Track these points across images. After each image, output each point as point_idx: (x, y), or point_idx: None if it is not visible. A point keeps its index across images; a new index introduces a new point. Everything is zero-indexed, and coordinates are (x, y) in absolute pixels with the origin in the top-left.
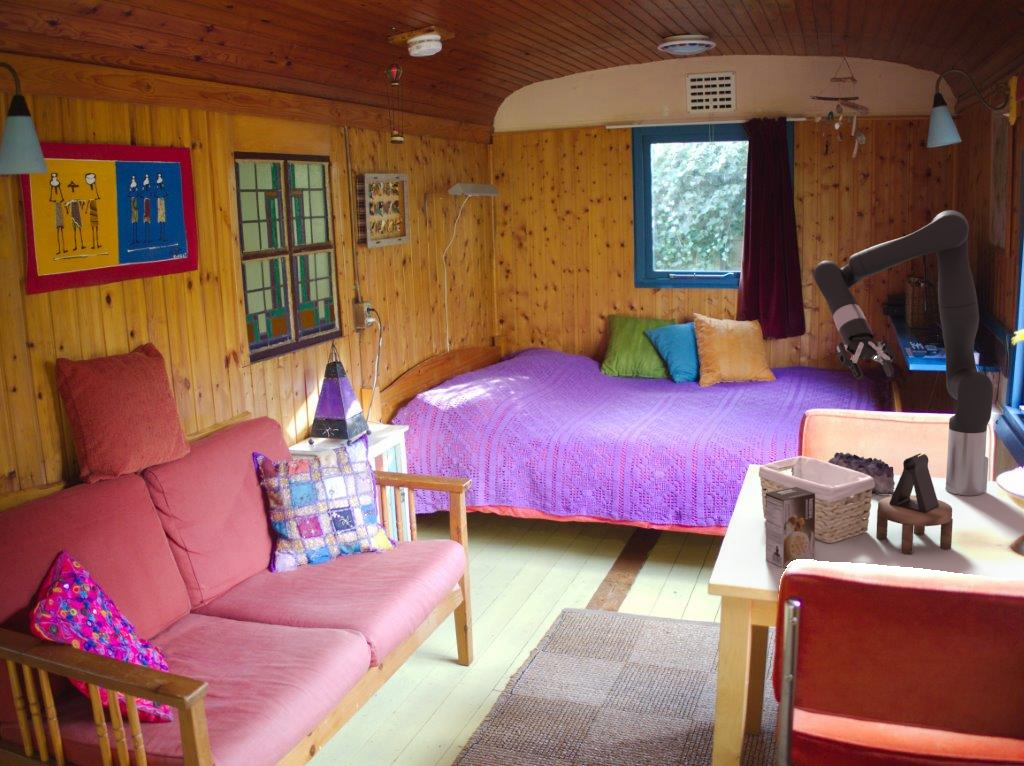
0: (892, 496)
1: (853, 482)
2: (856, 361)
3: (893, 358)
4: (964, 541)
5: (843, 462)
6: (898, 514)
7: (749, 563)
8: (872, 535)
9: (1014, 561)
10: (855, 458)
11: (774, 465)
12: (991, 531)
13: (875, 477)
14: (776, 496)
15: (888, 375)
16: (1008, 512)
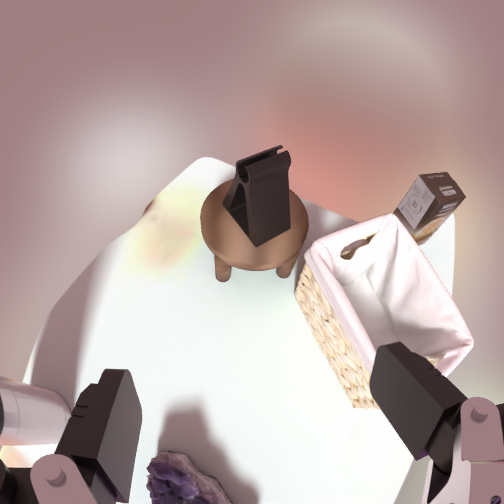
0: (289, 217)
1: (356, 225)
2: (465, 416)
3: (3, 466)
4: (183, 236)
5: None
6: (294, 195)
7: (436, 239)
8: (291, 283)
9: (173, 180)
10: None
11: (455, 350)
12: (127, 257)
13: (188, 470)
14: (455, 183)
15: (138, 406)
16: (57, 312)
